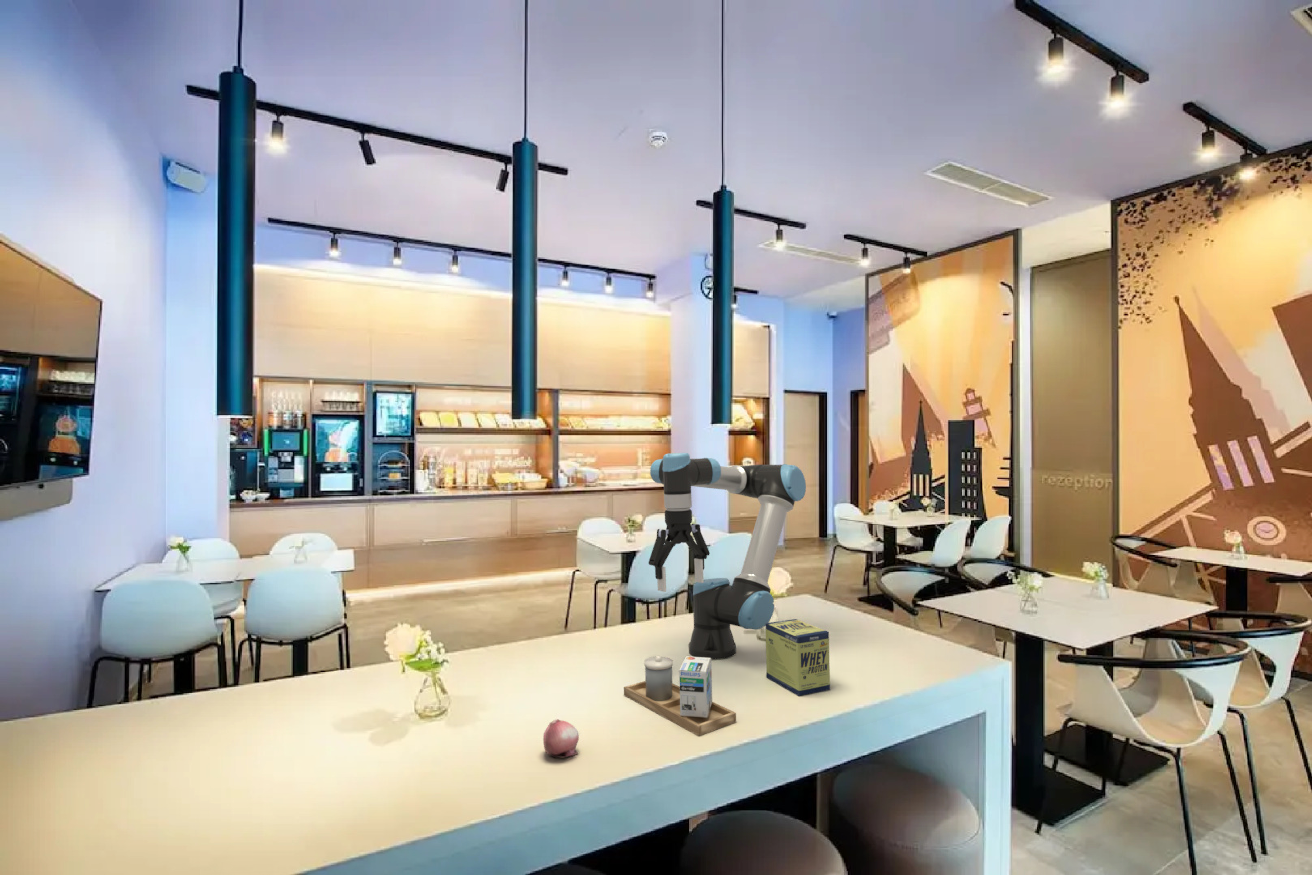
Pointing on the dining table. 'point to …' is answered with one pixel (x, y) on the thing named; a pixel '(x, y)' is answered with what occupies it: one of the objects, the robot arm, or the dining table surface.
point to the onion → (560, 739)
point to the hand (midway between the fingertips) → (681, 586)
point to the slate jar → (658, 678)
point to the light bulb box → (695, 686)
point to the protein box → (797, 656)
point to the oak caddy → (671, 710)
